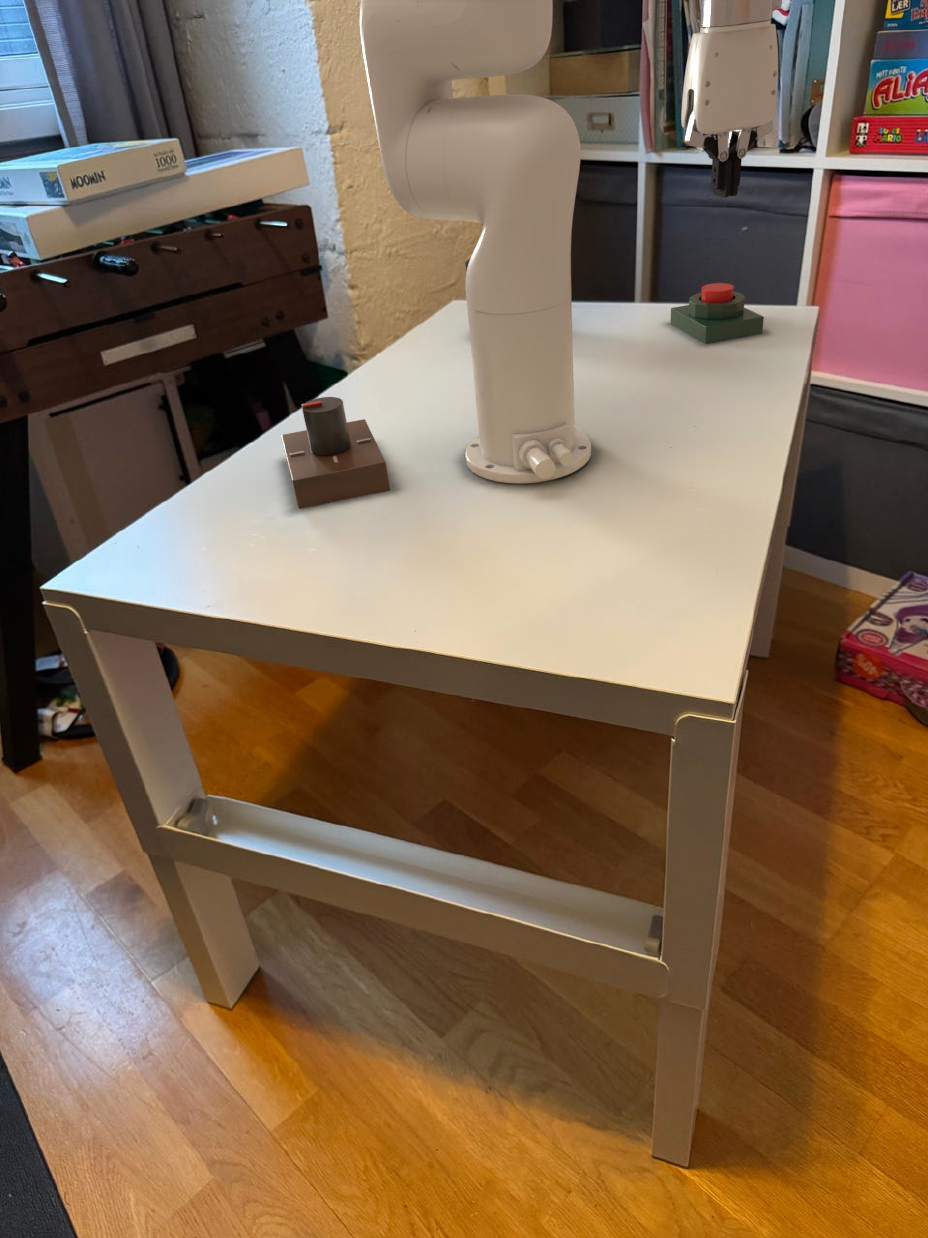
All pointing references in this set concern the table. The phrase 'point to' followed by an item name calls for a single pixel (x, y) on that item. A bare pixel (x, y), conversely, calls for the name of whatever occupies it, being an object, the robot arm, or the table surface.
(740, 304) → the button housing
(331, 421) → the dial
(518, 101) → the robot arm
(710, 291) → the button
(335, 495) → the control panel
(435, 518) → the table surface
